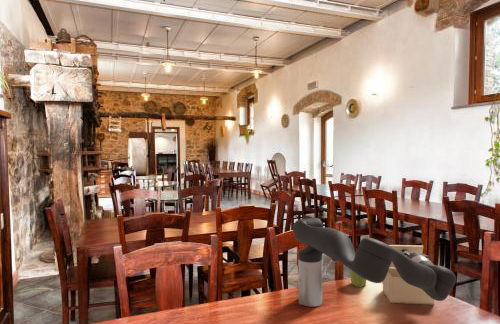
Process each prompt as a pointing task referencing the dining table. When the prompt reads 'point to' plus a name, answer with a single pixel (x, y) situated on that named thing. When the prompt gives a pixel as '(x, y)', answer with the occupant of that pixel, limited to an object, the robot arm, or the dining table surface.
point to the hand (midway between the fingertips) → (404, 251)
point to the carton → (403, 290)
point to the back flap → (408, 247)
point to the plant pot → (357, 279)
